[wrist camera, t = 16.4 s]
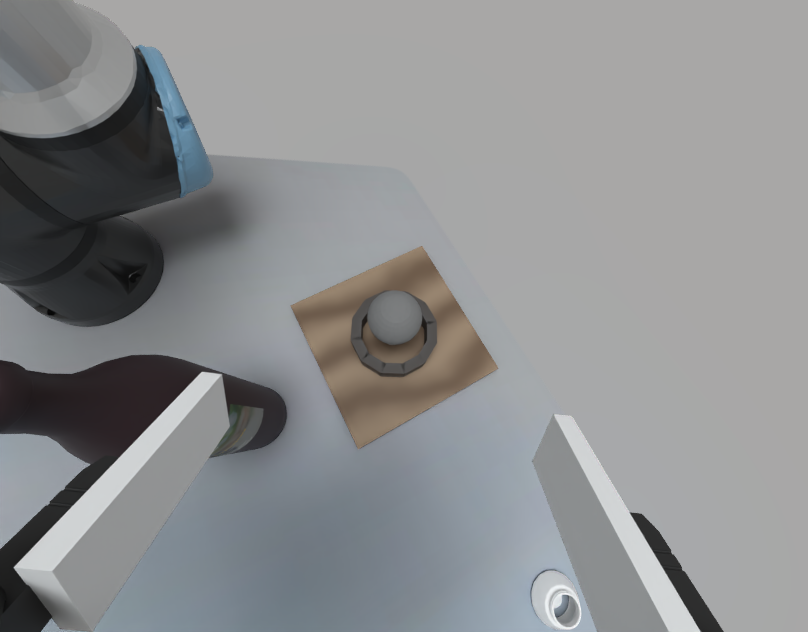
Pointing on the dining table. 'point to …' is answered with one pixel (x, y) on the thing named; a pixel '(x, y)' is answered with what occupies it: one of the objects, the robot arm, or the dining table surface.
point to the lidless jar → (555, 600)
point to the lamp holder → (391, 347)
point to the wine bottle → (126, 405)
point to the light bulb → (394, 317)
